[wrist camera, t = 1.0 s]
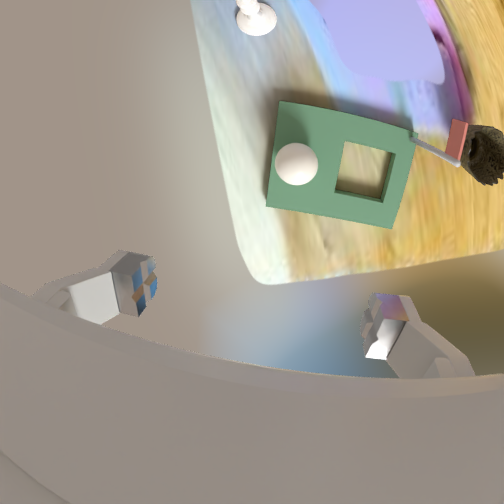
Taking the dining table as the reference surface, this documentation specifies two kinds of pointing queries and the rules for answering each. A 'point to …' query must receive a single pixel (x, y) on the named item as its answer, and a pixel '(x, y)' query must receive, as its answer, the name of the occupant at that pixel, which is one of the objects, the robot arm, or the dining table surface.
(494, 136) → the scalloped clay bowl
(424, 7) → the dining table surface
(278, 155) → the ball
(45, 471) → the robot arm
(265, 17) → the chess piece
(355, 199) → the putting mat
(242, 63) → the dining table surface
